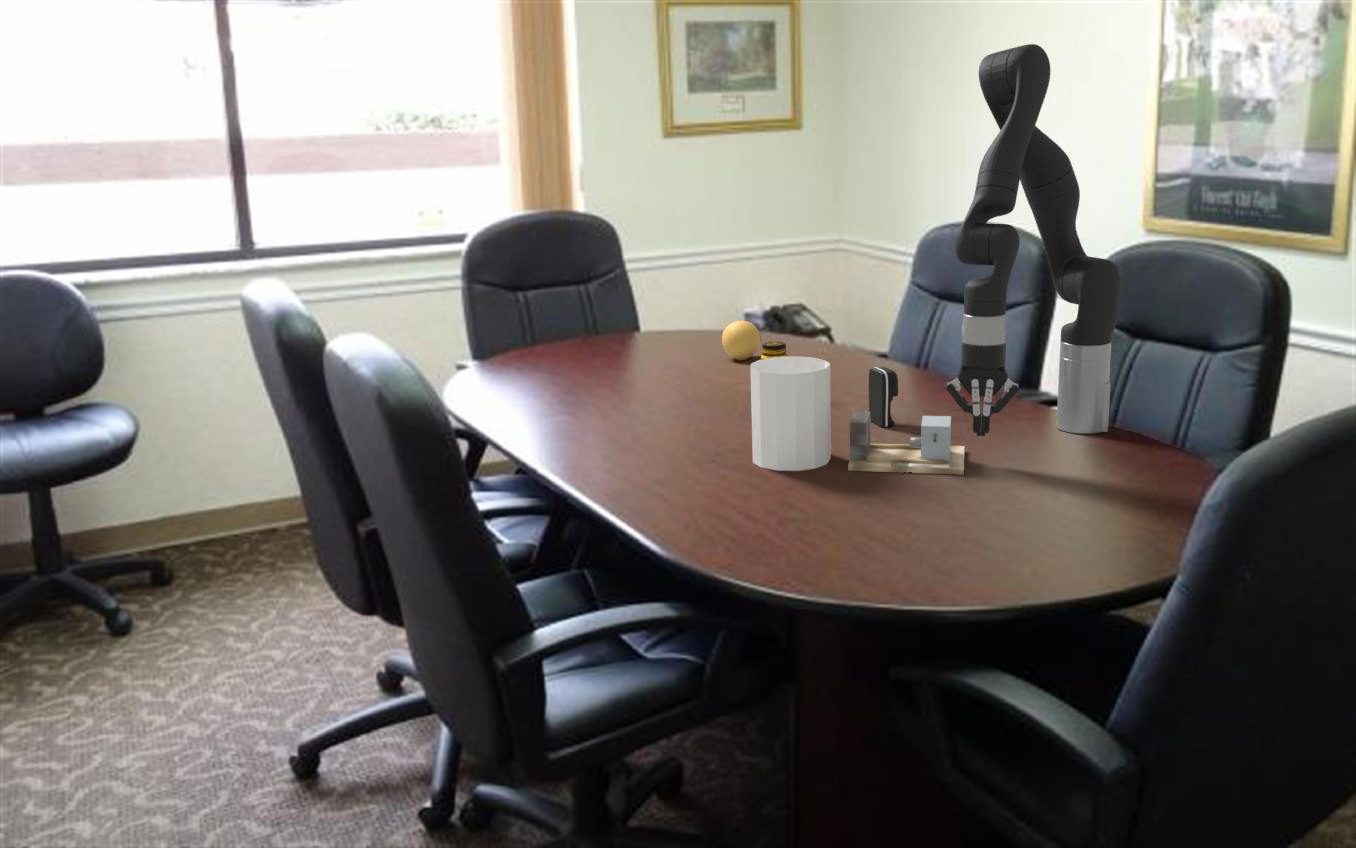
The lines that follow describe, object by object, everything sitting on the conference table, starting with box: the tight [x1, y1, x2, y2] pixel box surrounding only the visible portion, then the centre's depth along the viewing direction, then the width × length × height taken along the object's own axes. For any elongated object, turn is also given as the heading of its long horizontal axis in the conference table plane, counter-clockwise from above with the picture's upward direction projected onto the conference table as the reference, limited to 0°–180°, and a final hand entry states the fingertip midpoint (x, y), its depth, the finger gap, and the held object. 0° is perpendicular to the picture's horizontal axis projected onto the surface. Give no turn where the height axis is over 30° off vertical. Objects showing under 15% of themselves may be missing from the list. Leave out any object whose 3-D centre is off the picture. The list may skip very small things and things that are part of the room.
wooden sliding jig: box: [847, 410, 965, 475], centre depth 215 cm, size 20×14×8 cm
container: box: [749, 355, 832, 472], centre depth 217 cm, size 14×14×18 cm
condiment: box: [760, 340, 789, 360], centre depth 266 cm, size 7×8×12 cm
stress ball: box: [721, 319, 762, 361], centre depth 303 cm, size 10×10×10 cm
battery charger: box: [868, 366, 899, 428], centre depth 239 cm, size 7×4×11 cm, turn 16°
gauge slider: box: [909, 415, 952, 462], centre depth 212 cm, size 7×10×6 cm, turn 166°
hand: (980, 434), depth 211 cm, fingers closed
